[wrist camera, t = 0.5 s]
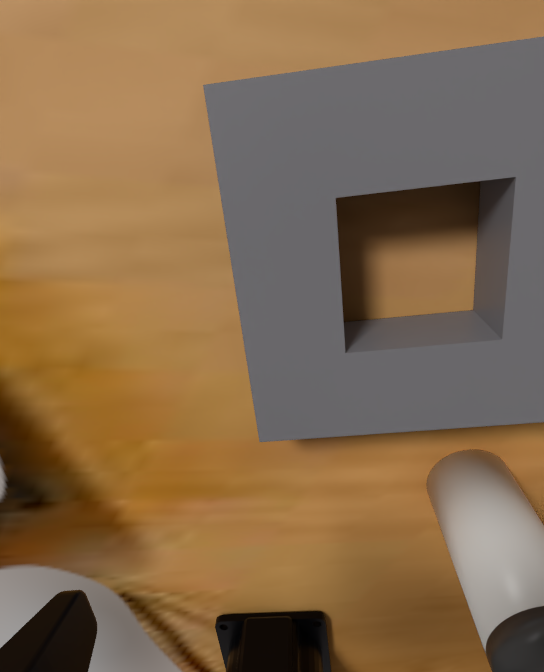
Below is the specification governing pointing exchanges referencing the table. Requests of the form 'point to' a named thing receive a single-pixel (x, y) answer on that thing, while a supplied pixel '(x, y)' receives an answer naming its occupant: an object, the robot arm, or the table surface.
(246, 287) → the socket block
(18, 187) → the table surface
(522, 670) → the plug
